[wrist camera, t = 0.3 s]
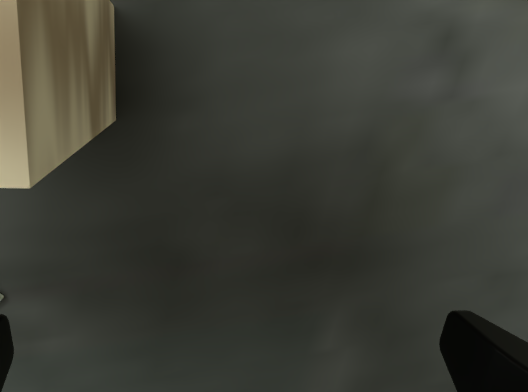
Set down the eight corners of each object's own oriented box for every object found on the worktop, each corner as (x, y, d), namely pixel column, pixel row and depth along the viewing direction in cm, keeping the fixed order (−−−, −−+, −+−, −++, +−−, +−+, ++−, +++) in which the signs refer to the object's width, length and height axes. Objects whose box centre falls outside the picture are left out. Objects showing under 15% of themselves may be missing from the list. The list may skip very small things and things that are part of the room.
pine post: (115, 120, 20) (29, 188, 8) (-3, 113, 19) (-326, 182, 6) (113, 6, 19) (6, -132, 6) (-13, -8, 17) (-441, -209, 5)
